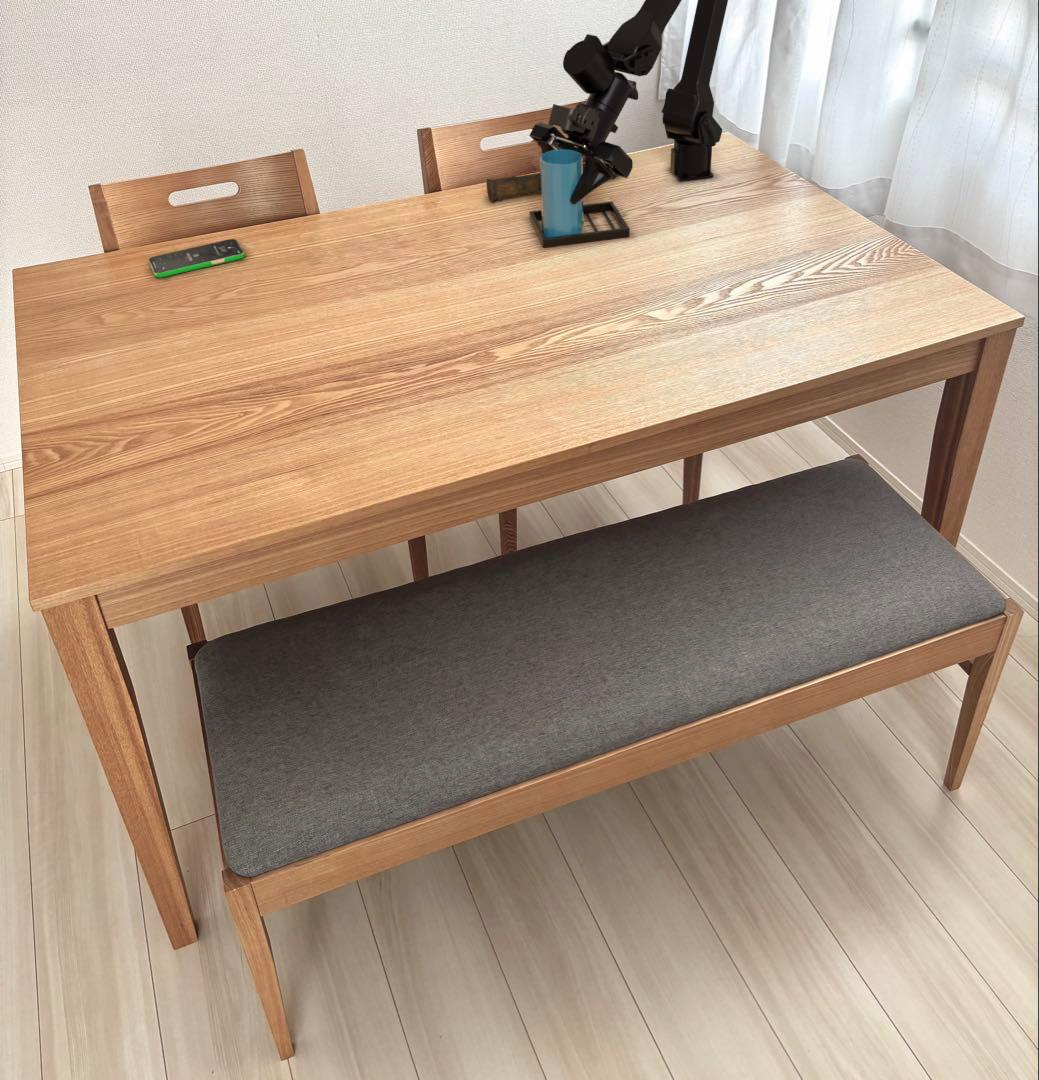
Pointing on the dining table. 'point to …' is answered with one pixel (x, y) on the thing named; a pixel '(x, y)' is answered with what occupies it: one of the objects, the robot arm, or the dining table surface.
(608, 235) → the black rectangular frame
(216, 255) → the smartphone
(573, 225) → the cup
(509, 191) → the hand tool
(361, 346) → the dining table surface
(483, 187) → the dining table surface
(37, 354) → the dining table surface
